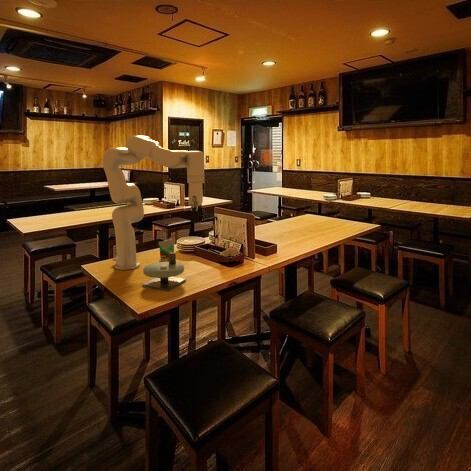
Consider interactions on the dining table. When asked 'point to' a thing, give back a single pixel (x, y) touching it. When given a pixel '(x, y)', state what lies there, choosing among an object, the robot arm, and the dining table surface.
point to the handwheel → (164, 268)
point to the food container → (166, 247)
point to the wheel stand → (164, 283)
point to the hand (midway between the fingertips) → (196, 217)
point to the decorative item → (230, 252)
